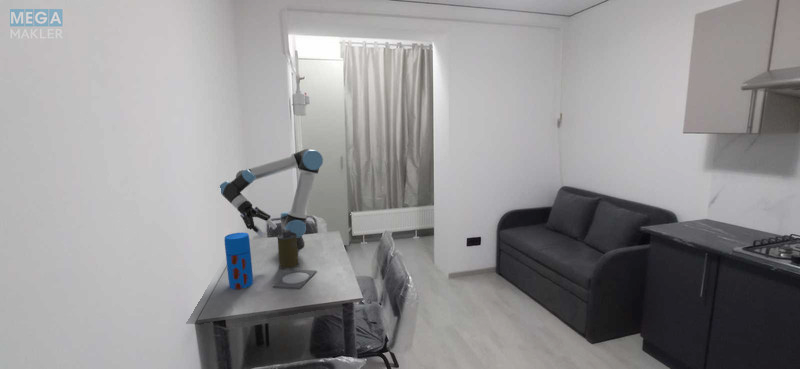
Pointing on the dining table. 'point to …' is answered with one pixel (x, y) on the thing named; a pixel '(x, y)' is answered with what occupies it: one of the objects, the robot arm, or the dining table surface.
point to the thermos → (238, 260)
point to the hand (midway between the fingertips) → (269, 231)
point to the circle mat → (295, 279)
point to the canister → (288, 250)
